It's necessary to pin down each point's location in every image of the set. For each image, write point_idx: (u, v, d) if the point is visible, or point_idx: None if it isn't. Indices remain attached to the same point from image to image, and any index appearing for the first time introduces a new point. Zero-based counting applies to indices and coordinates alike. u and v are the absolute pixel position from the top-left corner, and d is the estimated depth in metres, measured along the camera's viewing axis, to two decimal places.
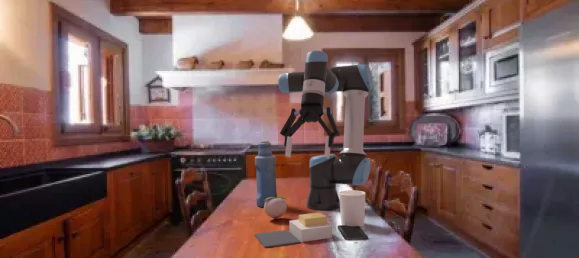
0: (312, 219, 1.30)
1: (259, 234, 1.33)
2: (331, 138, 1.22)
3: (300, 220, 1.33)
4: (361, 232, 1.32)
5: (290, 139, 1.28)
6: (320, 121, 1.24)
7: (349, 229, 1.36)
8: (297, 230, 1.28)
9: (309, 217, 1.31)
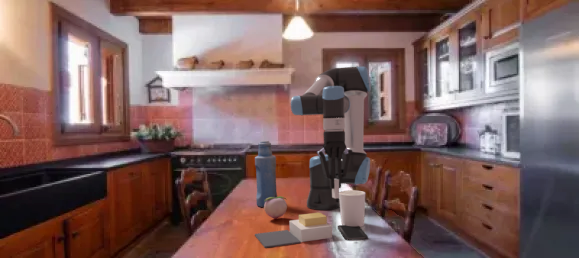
0: (312, 219, 1.30)
1: (259, 234, 1.33)
2: (340, 180, 1.35)
3: (300, 220, 1.33)
4: (361, 232, 1.32)
5: None
6: (339, 161, 1.34)
7: (349, 229, 1.36)
8: (297, 230, 1.28)
9: (309, 217, 1.31)
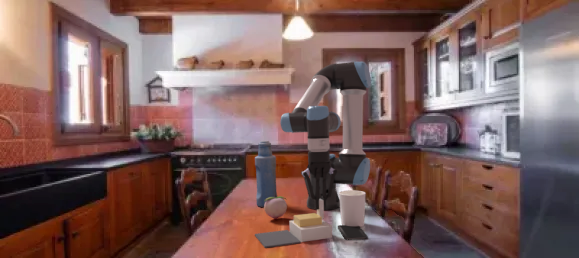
0: (307, 220, 1.29)
1: (259, 234, 1.33)
2: (324, 201, 1.33)
3: (295, 221, 1.32)
4: (361, 232, 1.32)
5: None
6: (324, 181, 1.33)
7: (349, 229, 1.36)
8: (297, 230, 1.28)
9: (304, 218, 1.30)
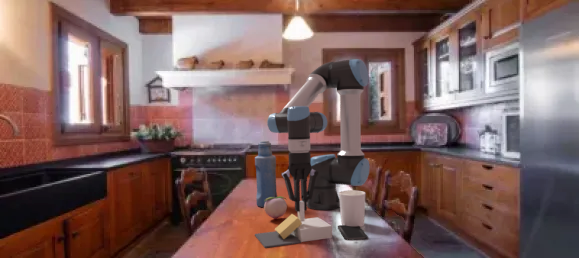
0: (286, 229, 1.27)
1: (259, 234, 1.33)
2: (305, 202, 1.31)
3: (278, 233, 1.31)
4: (361, 232, 1.32)
5: None
6: (304, 183, 1.30)
7: (349, 229, 1.36)
8: (297, 230, 1.28)
9: (283, 228, 1.28)
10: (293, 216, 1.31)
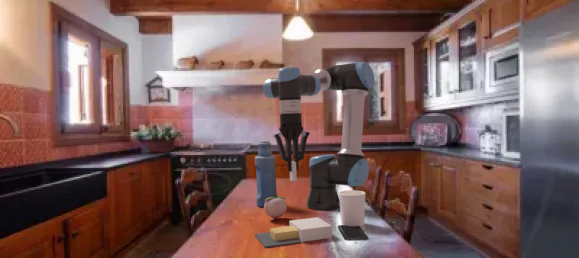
0: (283, 233, 1.26)
1: (259, 234, 1.33)
2: (297, 163, 1.34)
3: (271, 234, 1.30)
4: (361, 232, 1.32)
5: None
6: (296, 143, 1.33)
7: (349, 229, 1.36)
8: None
9: (280, 231, 1.27)
10: (293, 227, 1.31)
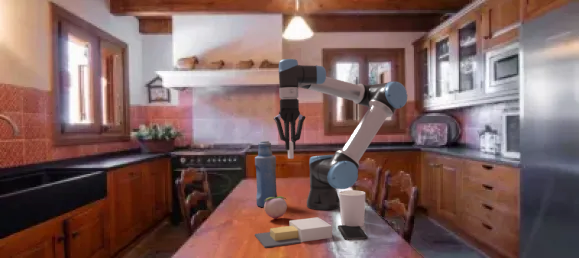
0: (283, 233, 1.26)
1: (259, 234, 1.33)
2: (294, 143, 1.53)
3: (271, 234, 1.30)
4: (361, 232, 1.32)
5: None
6: (293, 125, 1.52)
7: (349, 229, 1.36)
8: None
9: (280, 231, 1.27)
10: (293, 227, 1.31)
